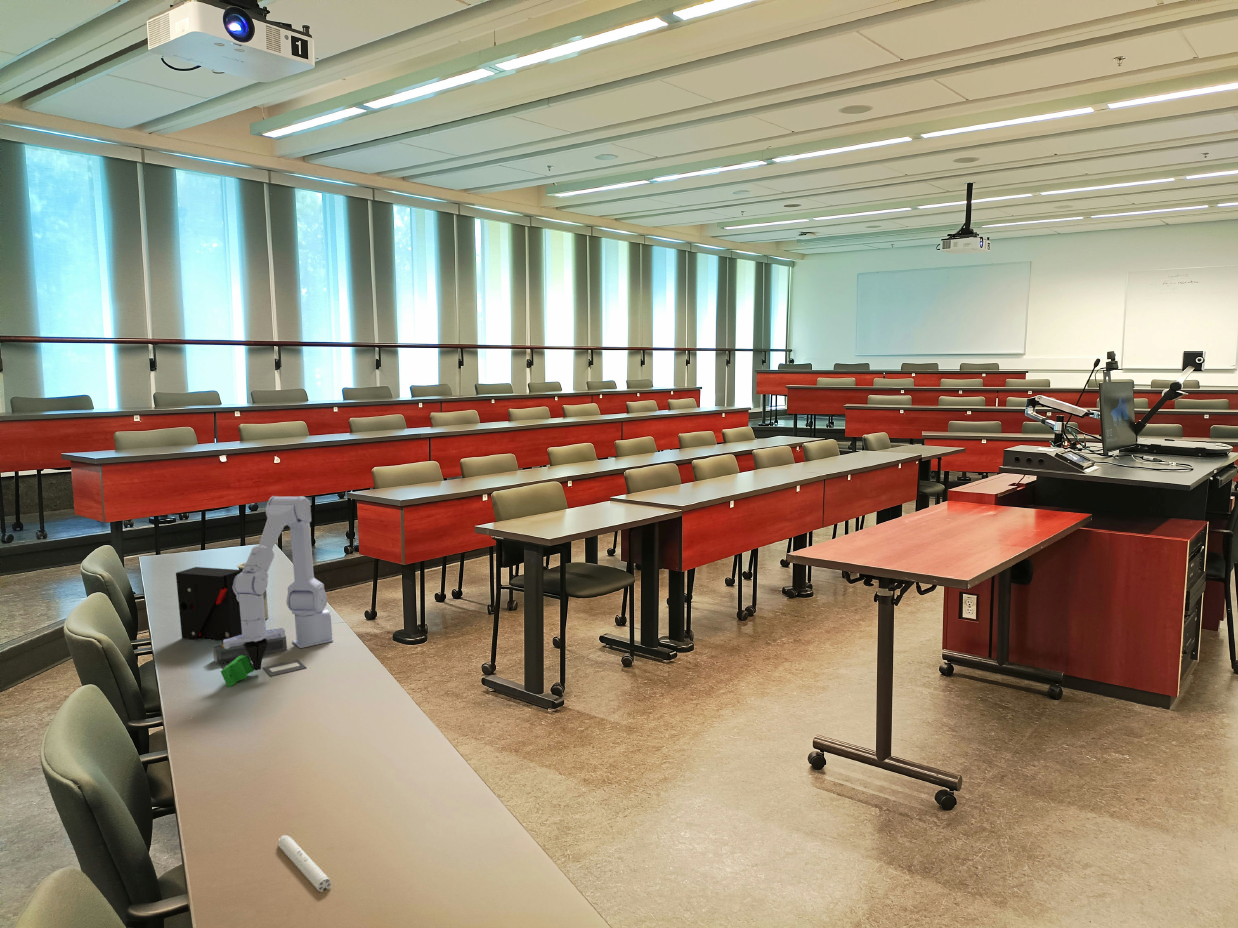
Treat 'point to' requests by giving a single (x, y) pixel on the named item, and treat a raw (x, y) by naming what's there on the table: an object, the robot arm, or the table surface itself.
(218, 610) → the electrical component
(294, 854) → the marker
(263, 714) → the table surface
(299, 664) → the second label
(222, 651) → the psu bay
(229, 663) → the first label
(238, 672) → the pipe clamp
